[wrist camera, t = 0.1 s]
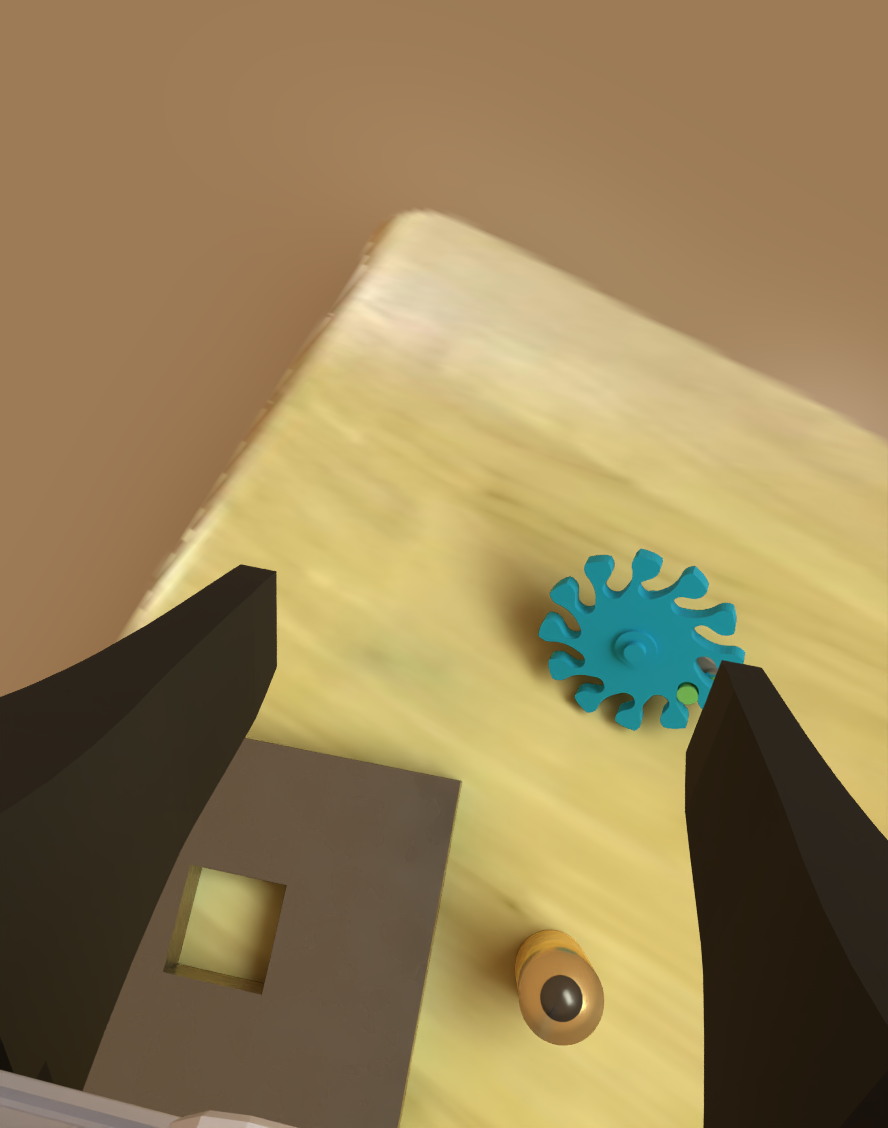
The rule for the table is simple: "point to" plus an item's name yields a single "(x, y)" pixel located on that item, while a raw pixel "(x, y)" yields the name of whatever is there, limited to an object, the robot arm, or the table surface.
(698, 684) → the gear
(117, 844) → the robot arm
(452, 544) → the table surface
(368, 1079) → the plate
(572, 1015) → the bushing
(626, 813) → the table surface
